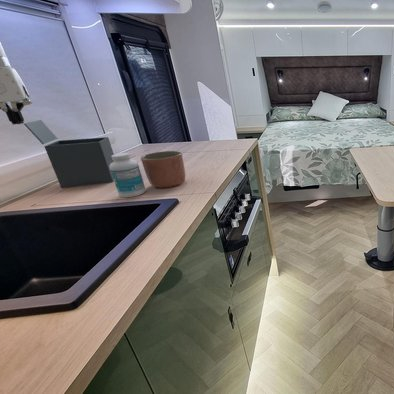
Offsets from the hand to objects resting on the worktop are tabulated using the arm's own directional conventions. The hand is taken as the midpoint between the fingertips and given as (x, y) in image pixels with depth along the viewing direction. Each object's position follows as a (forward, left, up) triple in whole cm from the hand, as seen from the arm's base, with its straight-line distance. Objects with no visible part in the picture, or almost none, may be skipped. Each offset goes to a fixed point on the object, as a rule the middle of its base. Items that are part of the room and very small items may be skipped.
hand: (18, 123), depth 97 cm
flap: (+5, 0, -3) cm, 6 cm away
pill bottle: (+31, -24, -22) cm, 45 cm away
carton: (+14, 0, -22) cm, 26 cm away
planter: (+41, -18, -22) cm, 50 cm away
